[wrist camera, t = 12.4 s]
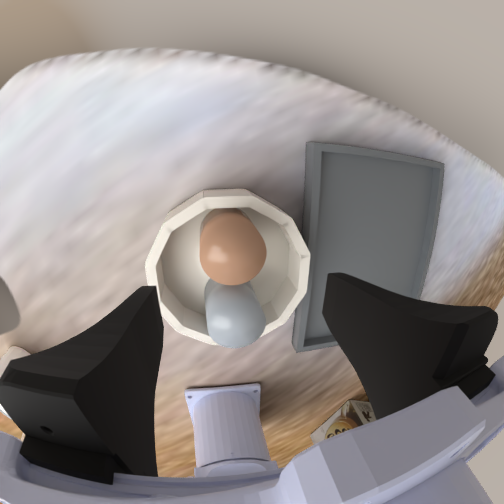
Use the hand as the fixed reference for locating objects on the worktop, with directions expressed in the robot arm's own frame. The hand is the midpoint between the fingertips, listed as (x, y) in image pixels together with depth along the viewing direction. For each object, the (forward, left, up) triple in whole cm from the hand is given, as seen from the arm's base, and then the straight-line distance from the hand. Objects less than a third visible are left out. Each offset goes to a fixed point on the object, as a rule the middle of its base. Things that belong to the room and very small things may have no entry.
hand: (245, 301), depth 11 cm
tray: (-2, -13, -10) cm, 16 cm away
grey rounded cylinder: (-5, 0, -9) cm, 10 cm away
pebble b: (0, 0, -9) cm, 9 cm away
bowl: (-2, 0, -10) cm, 10 cm away
